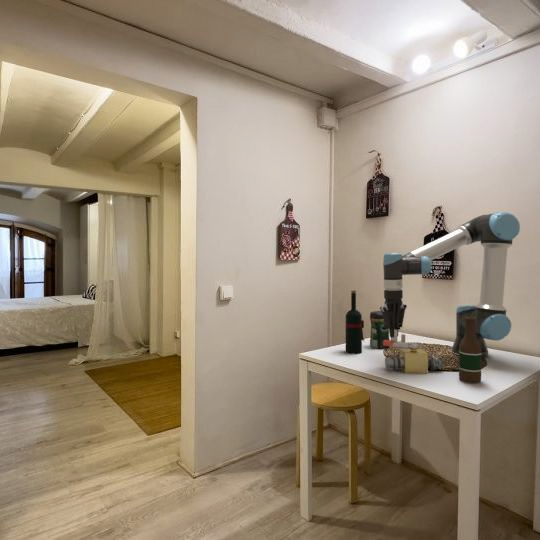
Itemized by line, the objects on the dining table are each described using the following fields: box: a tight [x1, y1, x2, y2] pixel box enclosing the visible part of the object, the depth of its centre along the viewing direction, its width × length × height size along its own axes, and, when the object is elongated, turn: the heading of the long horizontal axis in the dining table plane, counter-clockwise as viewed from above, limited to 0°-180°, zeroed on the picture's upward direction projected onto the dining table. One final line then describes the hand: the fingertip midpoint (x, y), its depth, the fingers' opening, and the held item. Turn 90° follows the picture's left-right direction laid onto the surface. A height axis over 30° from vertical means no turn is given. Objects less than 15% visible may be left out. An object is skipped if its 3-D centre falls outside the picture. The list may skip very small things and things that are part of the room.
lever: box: [383, 339, 420, 349], centre depth 158 cm, size 14×4×2 cm, turn 57°
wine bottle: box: [345, 290, 366, 355], centre depth 185 cm, size 8×10×30 cm
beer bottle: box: [458, 317, 483, 384], centre depth 143 cm, size 8×8×24 cm
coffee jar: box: [369, 310, 391, 349], centre depth 194 cm, size 10×8×19 cm
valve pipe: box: [384, 348, 444, 374], centre depth 156 cm, size 22×7×9 cm, turn 88°
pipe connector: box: [392, 333, 409, 349], centre depth 177 cm, size 10×10×10 cm
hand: (394, 344), depth 162 cm, fingers closed
